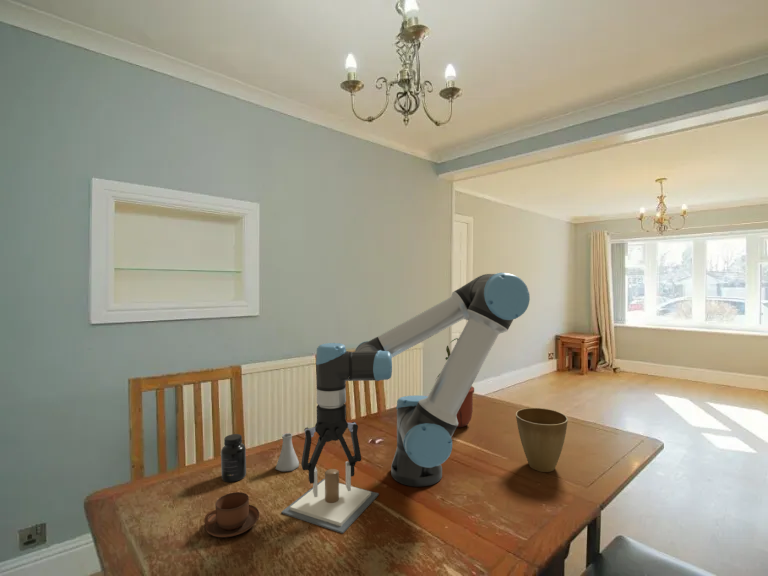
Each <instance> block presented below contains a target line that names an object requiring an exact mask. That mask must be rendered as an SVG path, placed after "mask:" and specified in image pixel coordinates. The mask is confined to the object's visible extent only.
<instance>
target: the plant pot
mask: <svg viewBox="0 0 768 576" xmlns="http://www.w3.org/2000/svg"><path fill="white" fill-rule="evenodd" d="M515 418H516V419H515V420H516V425H517V430H518V434H519V438H520V442H521V446H522V449H523V451H524V455H525V458H526V461H527V463H528V465H529V467H530V468H531V469H532V470H535V471H537V472H541V473H542V472H543V473H550V472H553V471H555V470H556V467H557V465H558V463H559V460H560V457H561V454H562V451H563V446H564V443H565V438H566V434H567V428H568V422H569V421H568V416H567V415H566V414H564V413H563V412H560V411H557V410H554V409H550V408H541V407H526V408H521V409H518V410H517V411H516V412H515Z"/></svg>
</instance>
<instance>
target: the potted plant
mask: <svg viewBox="0 0 768 576" xmlns="http://www.w3.org/2000/svg"><path fill="white" fill-rule="evenodd" d="M458 339H459V337H455V338H454V339H452V340H451V341H450V343H449V344H451V343H452V342H454V341H456V340H457V341H458ZM457 341H456V342H457ZM445 351H446V353H447V357H445V361H447V360H448V358H449V356H450V354H451V351H450V347H449V345H447V346H446V350H445ZM439 375H440V373H438V375H437V377H436V379H435V380H437V378H438V377H439ZM474 393H475V387H474V386H473V385H472V386H471V388H470V390H469V392H468V394H467V395H466V397H465V399H464V401H463V403H462V405H461V407H460V409H459V411H458V412H457V415H456V417H457V420H458V426H457V428H463V427H464V428H465V427H466V426H467V425H468V424H469V423H470V422H471V420H472V417H473V409H474V408H473V406H474V403H473V401H474V400H473V399H474Z"/></svg>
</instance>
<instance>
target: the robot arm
mask: <svg viewBox="0 0 768 576" xmlns="http://www.w3.org/2000/svg"><path fill="white" fill-rule="evenodd" d="M530 300H531V299H530V291H529V288H528V286H527V285H526V282H524V281H523V279H521V278H520V277H519V276H517V275H515V274H512V273H508V272H497V273H486V274H481V275H479V276H477V277H475V278H474V279H472V280H471V281H469V282H467V283H466V284H465V285H463V286H461V287H459V288H458V289H456V290H454V291H452V293H451V296H450V297H448V298H446V299H445V300H442V301H440V302H439V303H437V304H435V305H433V306H431V307H429V308H428V309H426V310H424V311H422V312H419V314H417V315H415V316H413V317H411V318H409V319H407V320H406V321H403V322H402V323H400V324H398V325H396V326H394V327H392V328H390V329H388V330H387V331H385V332H383V333H381V334H380V335H378V336H376V337H374V338H372V339H370V340H369V341H368V340H367V341H362V342H361V343H359V344H358V345H357V347H356V348H355V350H354V351H349V350H348V351H347V349H346V345H345V344H343V343H340V342H339V343H338V342H337V343H336V342H328V343H327V342H326V343H322V344H319V346H317V348H316V357H315V358H316V360H315V373H316V374H315V378H316V379H315V381H316V382H315V383H316V384H315V385H316V404H317V405H316V422H315V426H313V427H305V428H304V430H303V431H304V435H305V438H304V445H303V452H302V457H301V462H300V465H301V467H302V470H303V471H308V482H309V484H310V485H311V484H312V487H313V494H314V497H318V487H317V484H318V468H317V464H318V462H319V459H320V457H321V454H322V452H323V449H324V447H325V445H326V443H329V442H332V441H339V443H340V445H341V447H342V450H343V452H344V453H345V456H346V458H347V461H345V485H346V488H347V490H348V491H351V486H352V477H354V476H355V466H356V465H357V464H356V463H358V462H362V454H361V448H360V443H359V442H360V441H359V437H358V431H359V426H358V424H357V422H356V421H352V422H347V405H346V401H347V395H346V394H347V393H346V389H347V387H346V386H347V385H346V382H352V381H353V382H355V381H356V382H357V381H359V382H360V381H366V382H367V381H373V382H374V381H376V382H379V381H385V380H388V381H389V380H390V379H391V378H392V375H393V361H392V360H393V358H394V357H397V356H398V355H401V354H402V353H404V352H405V351H407V350H409V349H411V348H413V347H415V346H417V345H419V344H420V343H422V342H424V341H425V340H427V339H429V338H432V337H433V336H434V335H435V336H436V335H437V334H439V333H441V332H442V331H445V330H446V329H448V328H450V327H451V326H452V327H453V326H454V325H455V324H457V323H459V322H460V321H463V320H466V321H467V322H466V324H465V326H464V328H463V329H462V332H461V333H460V335H459V337H458V341H456V342H455V345H454V347H453V348H452V351H450V356H449V358H448V359H447V360H446V362H445V364H444V366H443V367H442V368H441V369H442V370H441V371H440V373H439V374H440V375H439V374H438V375H439V377H438V376H437V377H438V378H437V377H436V378H437V379H435V382H434V385H433V386H432V389H430V392H429V393H428V395H406V396H401V397H399V398H398V399H397V400H396V407H395V409H396V449H395V453H394V455H393V459H392V462H391V466H390V468H391V469H390V471H391V472H390V474H391V477H392V479H393V480H395V481H396V482H398V483H399V484H402V485H405V486H407V487H408V486H409V487H417V488H419V487H420V488H421V487H422V488H424V487H429V486H432V485H435V484H436V483H438V482H440V480H442V478H443V467H442V464H444V463H446V461H447V460H448V459H449V457H450V456H451V454H452V450H453V439H452V437H453V435H454V433H455V431H456V430H457V428H458V427H457V426H458V420H457V417H456V415H457V412H458V411H459V409H460V407H461V405H462V403H463V401H464V399H465V397H466V395H467V394H468V392H469V390H470V388H471V386H472V387H473V384H474V382H475V380H476V378H477V376H478V374H479V372H480V371H481V369H482V367H483V365H484V363H485V361H486V359H487V358H488V356H489V354H490V351H491V350H492V348H493V346H494V344H495V342H496V340H497V339H498V336H499V335H500V334H502V333H505V332H508V330H509V329H510V326H511V325H512V324H513V321H514V320H516V319H518V318H520V317H521V316H523V314H525V312H526V311H527V310H528V307H529V304H530ZM347 429H348V431H349V432H350V437H351V443H352V448H353V453H354V455H352V452H351V450H350V447H348V444H347V442H346V439H345V437H344V436H343V435H344V434H345V432H346V430H347ZM315 433H317V434H318V437H317V438H318V439H317V442H316V445H315V447H314V450H313V453H312V455H311V454H310V453H311V447H312V438H313V437H314V435H315ZM310 455H311V458H310ZM309 459H310V460H309Z"/></svg>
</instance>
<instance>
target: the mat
mask: <svg viewBox="0 0 768 576" xmlns="http://www.w3.org/2000/svg"><path fill="white" fill-rule="evenodd" d="M324 480H325V478H323V479H321V480H320V481H319V482H317V485H319V484H320V483H321V482H322V481H324ZM339 483H340V484H342V483H341V482H339ZM343 484H344V485H346V483H343ZM351 487H355V488H359V487H357V486H353V485H351ZM312 489H313V486H312V487H311V488H310V489H309V490H307V491H306V492H305V493H304V494H302V495H301V496H299V497H298V498H297V499H296V500H294V501H293V502H292V503H291V504H290V505H288V506H286V508H284V509H283V510H282V511H281V514H283V515H285V516H289V517H292V518H295V519H298V520H301V521H304V522H307V523H310V524H313V525H316V526H319V527H322V528H325V529H328V530H330V531H334V532H337V533H339V534H344V533H345V532H346V531H347V530H348V529H349V528H350V526H351V525H352V524H353V523H354V522H355V521H356V520H357V519H358V518H359V517H360V516H361V515H362V514H363V513H364V512H365V511H366V510H367V508H368V507H369V506H370V505H371V504H372V503H373V502H374V501H375V500H376V498H377V497H379V495H380V493H379V492H375V491H373V490H372V491H371V490H368V489H365V488H364V489H363V488H359V489H362V490H366V491H370V492H371V496H370V497H369V498H368V499H367V500H366V501H365V502H364V503H363V504H362V505H361V506H360V507H359V508H358V509H357V510H356V511H355V512H354V513H353V514H352V515H351V516H350V517H349V518H348V519H347V521H346V522H345V523H344V524H343V525H342V526H338V525H335V524H332V523H329V522H326V521H323V520H320V519H316V518H313V517H310V516H307V515H304V514H301V513H298V512H295V511H292V510H290V507H291V506H292V505H293V504H294V503H296V502H297V501H298V500H300V499H301V498H302V497H303V496H305V495H306V494H307V493H308V492H310V491H311V490H312Z"/></svg>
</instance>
